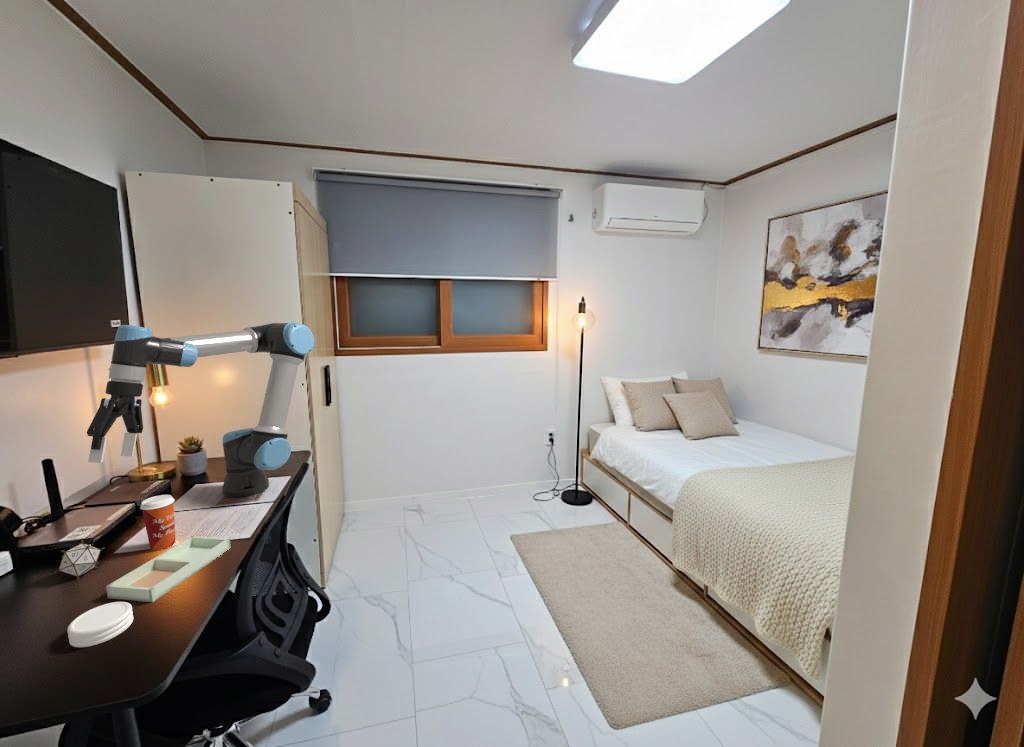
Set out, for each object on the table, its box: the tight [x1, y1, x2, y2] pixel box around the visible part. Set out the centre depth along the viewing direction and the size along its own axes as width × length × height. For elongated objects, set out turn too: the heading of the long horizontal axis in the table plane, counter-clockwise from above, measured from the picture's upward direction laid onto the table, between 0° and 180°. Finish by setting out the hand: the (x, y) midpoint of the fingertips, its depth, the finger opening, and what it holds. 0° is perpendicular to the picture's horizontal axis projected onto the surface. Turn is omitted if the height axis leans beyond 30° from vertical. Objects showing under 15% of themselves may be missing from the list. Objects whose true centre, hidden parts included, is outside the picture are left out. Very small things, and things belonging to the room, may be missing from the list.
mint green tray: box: [105, 535, 232, 603], centre depth 113 cm, size 23×12×3 cm, turn 172°
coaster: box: [66, 601, 134, 648], centre depth 92 cm, size 10×10×4 cm
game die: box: [54, 539, 105, 581], centre depth 112 cm, size 9×8×10 cm
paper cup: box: [139, 494, 176, 551], centre depth 126 cm, size 8×8×14 cm
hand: (112, 459), depth 119 cm, fingers open, 13 cm apart
